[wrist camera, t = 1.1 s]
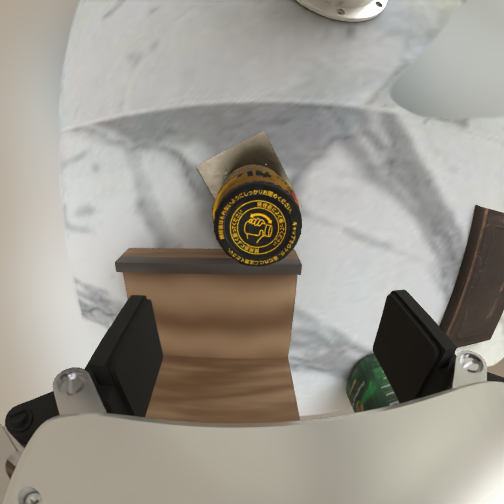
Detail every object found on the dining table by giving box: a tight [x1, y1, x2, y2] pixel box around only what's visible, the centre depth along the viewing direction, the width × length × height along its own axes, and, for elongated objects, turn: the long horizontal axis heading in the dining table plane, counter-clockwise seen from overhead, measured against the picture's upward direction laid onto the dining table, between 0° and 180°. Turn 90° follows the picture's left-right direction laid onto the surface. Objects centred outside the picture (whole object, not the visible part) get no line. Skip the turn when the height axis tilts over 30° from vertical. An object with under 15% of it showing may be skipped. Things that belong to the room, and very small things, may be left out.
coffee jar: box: [346, 354, 399, 413], centre depth 28 cm, size 10×8×19 cm
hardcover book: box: [439, 205, 504, 347], centre depth 32 cm, size 16×23×2 cm
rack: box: [115, 248, 302, 423], centre depth 23 cm, size 14×18×18 cm
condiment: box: [197, 131, 302, 267], centre depth 21 cm, size 7×8×12 cm
